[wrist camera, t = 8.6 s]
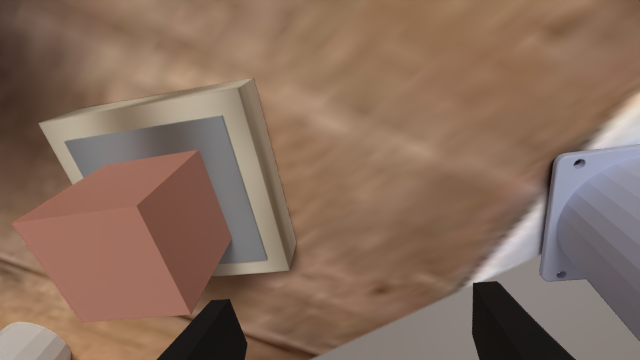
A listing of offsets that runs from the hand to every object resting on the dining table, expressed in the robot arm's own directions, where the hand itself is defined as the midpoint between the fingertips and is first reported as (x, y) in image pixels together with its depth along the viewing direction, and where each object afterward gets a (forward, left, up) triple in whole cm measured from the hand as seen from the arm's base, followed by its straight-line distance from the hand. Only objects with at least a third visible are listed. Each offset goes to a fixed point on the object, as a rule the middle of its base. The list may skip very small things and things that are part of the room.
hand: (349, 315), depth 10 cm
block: (+9, -1, -7) cm, 11 cm away
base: (+9, -1, -9) cm, 13 cm away
